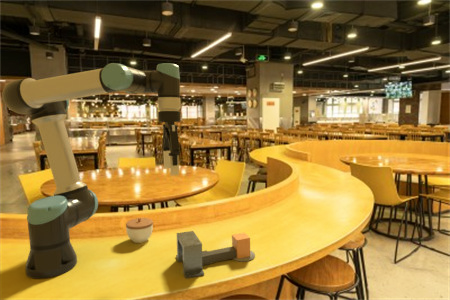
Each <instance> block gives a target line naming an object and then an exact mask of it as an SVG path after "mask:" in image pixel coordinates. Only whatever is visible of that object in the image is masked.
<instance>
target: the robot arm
mask: <svg viewBox="0 0 450 300" xmlns="http://www.w3.org/2000/svg"><path fill="white" fill-rule="evenodd" d="M180 87H181V77H180V67H179V65H177V64H175V63H167V62H166V63H165V62H163V63H158V64H157V65H156V70H139V69H137V68H133V67H130V66H127V65H125V64H123V63H122V64H121V63H116V62H115V63H114V62H112V63H108V64H106V65H105V66H104V67H103V68H97V69H91V70H87V71H80V72H74V73H69V74H64V75H57V76H52V77H47V78H46V77H45V78H42V79H37V80H36V79H35V78H31V77H28V78H21V79H16V80H12V81H10V82H8V83H7V84H6V85H5V86H4V88H3V90H2V93H1V96H2V97H1V98H2V101H3V103H4V105H5V106H6V107H7V108H8V109H9V110H10V111H12V112H14V113H16V114H18V115H19V114H20V115H27V116H28V115H29V117H30V120H31V123H33V124H34V125H36V126H37V128H38V131H39V133H40V134H39V135H40V137H41V139H42V140H41V141H42V144H43V147H44V151H45V154H46V157H47V161H48V164H49V168H50V170H51V171H50V172H51V175H52V177H53V181H54V184H55V187H56V188H55V190H54V192H53V195H50V196H46V197H42V198H39V199H36V200H34V201H33V202H32V203H30V204H29V205H28V207H27V215H26V220H27V227H28V237H29V239H28V240H29V249H30V250H29V253H28V256H27V260H26V264H25V266H24V267H25V274H26V276H27V277H28V278H31V279H47V278H52V277H56V276H57V277H58V276H60V275H62V274H65V273H67V272H68V271H70V270H72V269H73V268H74V267H76V265H77V263H78V259H77V258H78V257H77V253H76V251H75V248H74V247H73V245H72V243H71V240H70V239H71V238H70V229H72V228H74V227H76V226H78V225H79V224H81V223H83V222H86V221H89V219H90V218H91V217H93V216H94V215H95V214H96V212H97V210H98V208H99V207H98V206H99V200H98V196H97V194H96V192H93V190H91V189H89V188H88V184H87V183H86V182H83V181H82V179H81V176H80V175H81V174H80V172H79V169H78V166H77V162H76V159H75V155H74V151H73V149H72V145H71V142H70V138H69V134H68V130H67V128H66V124H65V120H66V118H67V116H68V114H67V111H68V110H69V109H68V107H69V106H70V100H74V99H79V98H87V97H92V96H97V95H104V94H105V95H106V94H111V93H118V92H119V93H120V92H125V93H126V94H134V95H139V94H157V100H156V102H155V103H156V104H157V109H158V110H159V111H157V113H158V114H157V115H158V117H157V120H158V122H159V123H164V124H162V145H161V148H162V150H163V153H162V155H163V169H170V170H169V171H170V173H169V174H170V176H179V175H180V164H179V162H180V161H179V160H180V159H179V155H180V154H181V150H180V149H181V148H180V142H179V133H178V125H177V124H175V123H180V122H181V121H182V119H181V111H179V110H181V89H180Z"/></svg>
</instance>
